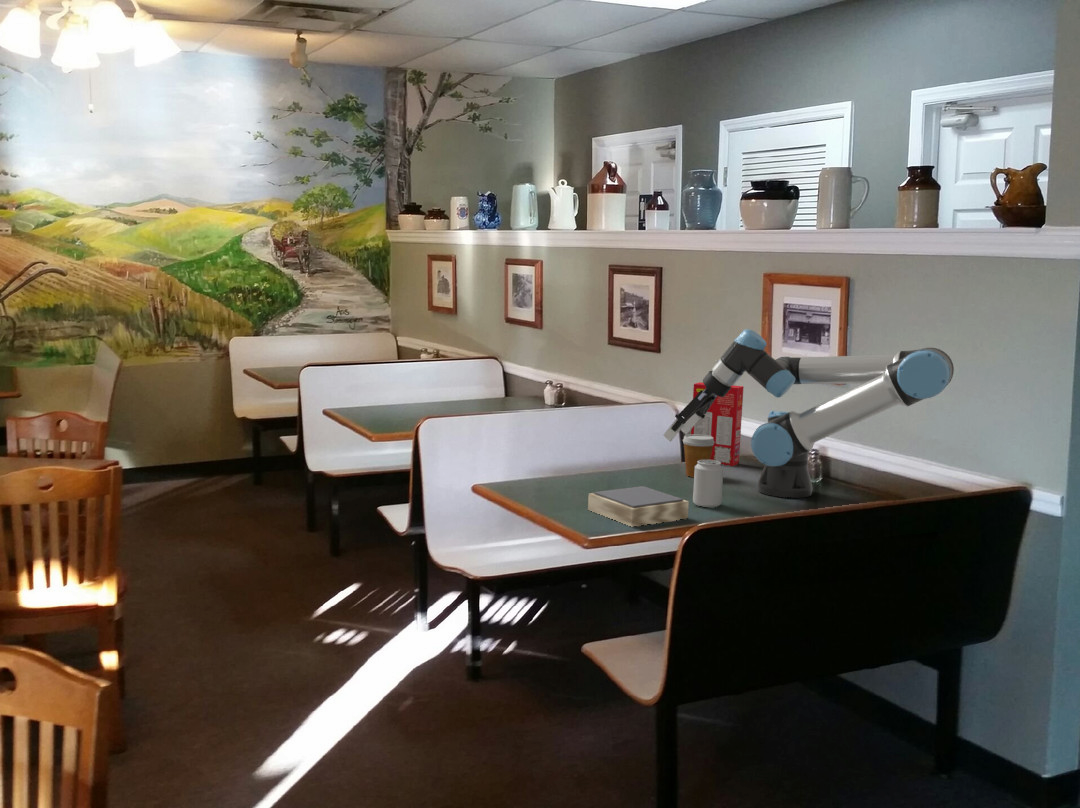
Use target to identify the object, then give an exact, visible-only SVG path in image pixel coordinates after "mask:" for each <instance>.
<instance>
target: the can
mask: <svg viewBox="0 0 1080 808" xmlns="http://www.w3.org/2000/svg"><path fill="white" fill-rule="evenodd" d="M697 462H698V464H697V465H696V466H695V472H694V478H693V491H692V492H693V494H692V503H693V504H694V505H695V506H696V505H698V506H697V507H699V506H703V507H716V508H718V507H719V506H720V505H721V504H722V499H723V498H722V497H723V481H724V468H723V465H721V462H719V461H716V460H699V461H697ZM717 506H718V507H717ZM703 507H702V508H703Z"/></svg>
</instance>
